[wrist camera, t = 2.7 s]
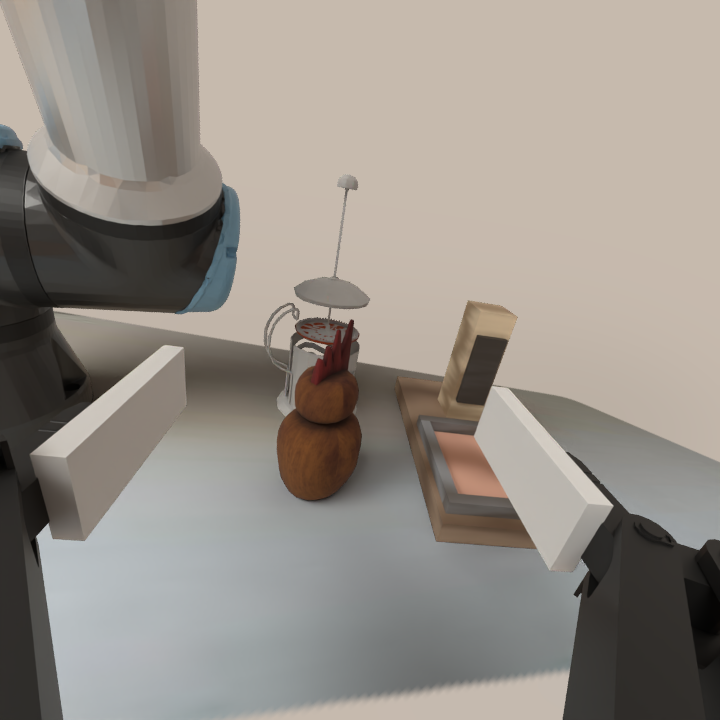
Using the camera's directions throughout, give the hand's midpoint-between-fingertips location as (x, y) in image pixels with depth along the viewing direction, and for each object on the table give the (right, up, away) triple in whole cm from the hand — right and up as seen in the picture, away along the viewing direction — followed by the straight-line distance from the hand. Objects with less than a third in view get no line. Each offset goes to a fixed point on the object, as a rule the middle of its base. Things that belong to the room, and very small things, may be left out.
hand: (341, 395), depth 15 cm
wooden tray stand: (+13, -9, +24) cm, 28 cm away
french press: (-5, -4, +27) cm, 28 cm away
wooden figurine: (-3, -10, +16) cm, 19 cm away
